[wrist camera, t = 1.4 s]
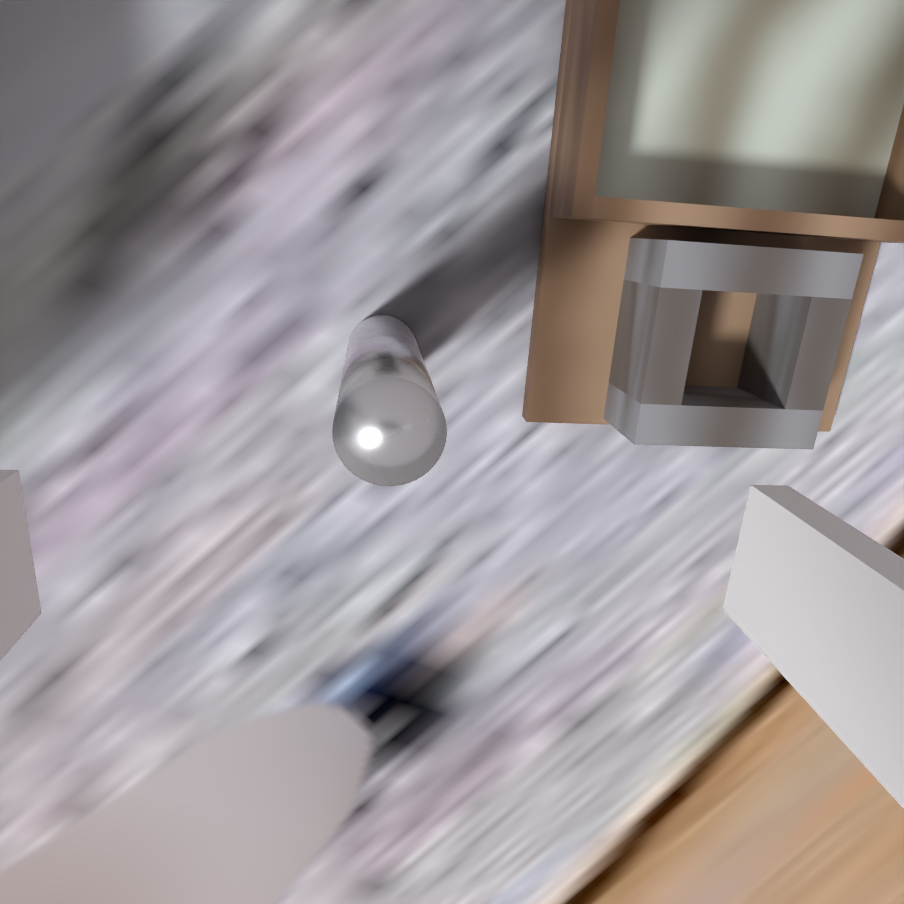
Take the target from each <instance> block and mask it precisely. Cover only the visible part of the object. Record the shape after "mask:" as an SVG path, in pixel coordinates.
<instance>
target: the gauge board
mask: <svg viewBox="0 0 904 904" xmlns="http://www.w3.org/2000/svg"><path fill="white" fill-rule="evenodd" d="M880 242H889V243H904V0H566V7H565V16H564V26H563V35H562V45H561V54H560V64H559V73H558V83H557V92H556V102H555V111H554V120H553V130H552V139H551V149H550V158H549V168H548V177H547V187H546V196H545V206H544V215H543V225H542V234H541V244H540V253H539V263H538V272H537V282H536V291H535V301H534V310H533V319H532V329H531V338H530V348H529V357H528V367H527V376H526V386H525V395H524V405H523V414H522V416H523V418H524V419H525V420H526V421H527V422H549V423H581V424H611V425H612V426H613V427H614V428H615V429H617V430H618V431H619V432H620V433H621V434H623V435H624V436H625V437H626V438H627V439H628V440H630V441H631V442H632V443H633V444H640V445H676V446H712V447H747V448H783V449H813V448H814V444H815V440H816V436H817V432H818V431H830V430H831V426H832V422H833V419H834V415H835V411H836V407H837V404H838V400H839V396H840V392H841V389H842V385H843V381H844V377H845V374H846V370H847V366H848V362H849V359H850V355H851V351H852V347H853V344H854V340H855V336H856V332H857V328H858V325H859V321H860V317H861V313H862V310H863V306H864V302H865V298H866V295H867V291H868V287H869V283H870V280H871V276H872V272H873V268H874V265H875V261H876V257H877V253H878V250H879V246H880Z"/></svg>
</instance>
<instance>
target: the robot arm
mask: <svg viewBox="0 0 904 904" xmlns="http://www.w3.org/2000/svg"><path fill="white" fill-rule="evenodd" d="M723 610H724V611H725V612H726V613H727V614H728V615H729V617H730V618H731V619H732V620H733V621H734V622H735V623H736V624H737V625H738V626H739V628H740V629H741V630H742V631H743V632H744V633H745V634H746V635H747V636H748V637H749V639H750V640H751V641H752V642H753V643H754V644H755V645H756V646H757V647H758V649H759V650H760V651H761V652H762V653H763V654H764V655H765V656H766V657H767V658H768V660H769V661H770V662H771V663H772V664H773V665H774V666H775V667H776V668H777V669H778V671H779V672H780V673H781V674H782V675H783V676H784V677H785V678H786V679H787V681H788V682H789V683H790V684H791V685H792V686H793V687H794V688H795V689H796V690H797V692H798V693H799V694H800V695H801V696H802V697H803V698H804V699H805V700H806V702H807V703H808V704H809V705H810V706H811V707H812V708H813V709H814V710H815V711H816V713H817V714H818V715H819V716H820V717H821V718H822V719H823V720H824V721H825V722H826V724H827V725H828V726H829V727H830V728H831V729H832V730H833V731H834V732H835V734H836V735H837V736H838V737H839V738H840V739H841V740H842V741H843V742H844V743H845V745H846V746H847V747H848V748H849V749H850V750H851V751H852V752H853V753H854V755H855V756H856V757H857V758H858V759H859V760H860V761H861V762H862V763H863V764H864V766H865V767H866V768H867V769H868V770H869V771H870V772H871V773H872V774H873V775H874V777H875V778H876V779H877V780H878V781H879V782H880V783H881V784H882V785H883V787H884V788H885V789H886V790H887V791H888V792H889V793H890V794H891V795H892V796H893V798H894V799H895V800H896V801H897V802H898V803H899V804H900V805H901V806H902V807H903V809H904V559H903V558H901V557H900V556H898V555H897V554H895V553H893V552H892V551H890V550H889V549H887V548H885V547H884V546H882V545H881V544H879V543H878V542H876V541H874V540H873V539H871V538H870V537H868V536H867V535H865V534H863V533H862V532H860V531H859V530H857V529H855V528H854V527H852V526H851V525H849V524H848V523H846V522H844V521H843V520H841V519H840V518H838V517H836V516H835V515H833V514H832V513H830V512H829V511H827V510H825V509H824V508H822V507H821V506H819V505H817V504H816V503H814V502H813V501H811V500H810V499H808V498H806V497H805V496H803V495H802V494H800V493H799V492H797V491H795V490H794V489H792V488H791V487H789V486H775V485H751V488H750V492H749V496H748V501H747V505H746V509H745V514H744V518H743V522H742V527H741V531H740V535H739V540H738V544H737V549H736V553H735V557H734V562H733V566H732V570H731V575H730V579H729V583H728V588H727V592H726V596H725V601H724V605H723ZM40 614H41V607H40V601H39V595H38V588H37V582H36V576H35V570H34V563H33V557H32V551H31V545H30V538H29V532H28V526H27V519H26V513H25V507H24V501H23V494H22V488H21V482H20V476H19V470H0V661H1V660H2V658H3V657H4V656H5V655H6V654H7V653H8V651H9V650H10V649H11V648H12V647H13V646H14V644H15V643H16V642H17V641H18V640H19V639H20V637H21V636H22V635H23V634H24V633H25V632H26V630H27V629H28V628H29V627H30V626H31V625H32V623H33V622H34V621H35V620H36V619H37V618H38V616H39V615H40Z"/></svg>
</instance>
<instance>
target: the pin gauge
mask: <svg viewBox="0 0 904 904" xmlns="http://www.w3.org/2000/svg"><path fill="white" fill-rule="evenodd" d="M332 432H333V442H334V446H335V449H336V452H337V454H338V456H339V458H340V460H341V461H342V463H343V464H344V465H345V466H346V468H347V469H348V470H349V471H351V472H352V473H353V474H354V475H356V476H357V477H359V478H360V479H362V480H364V481H366V482H369V483H372V484H376V485H381V486H397V485H403V484H406V483H410V482H412V481H414V480H417V479H418V478H420V477H422V476H423V475H424V474H426V473H427V472H428V471H429V470H430V469H431V468H432V467H433V466H434V465H435V464H436V462H437V461H438V459H439V458H440V456H441V454H442V452H443V449H444V446H445V442H446V436H447V428H446V421H445V417H444V414H443V411H442V408H441V406H440V403H439V400H438V398H437V395H436V393H435V390H434V387H433V385H432V382H431V379H430V377H429V374H428V371H427V369H426V366H425V363H424V361H423V358H422V355H421V353H420V350H419V348H418V345H417V342H416V340H415V337H414V335H413V333H412V331H411V330H410V328H409V327H408V326H407V325H406V324H405V323H404V322H402V321H401V320H399V319H397V318H395V317H392V316H388V315H376V316H372V317H369V318H367V319H365V320H363V321H362V322H361V323H359V324H358V325H357V326H356V328H355V329H354V330H353V332H352V334H351V336H350V339H349V344H348V349H347V354H346V359H345V365H344V370H343V375H342V380H341V385H340V391H339V396H338V401H337V406H336V412H335V417H334V422H333V431H332Z"/></svg>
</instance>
